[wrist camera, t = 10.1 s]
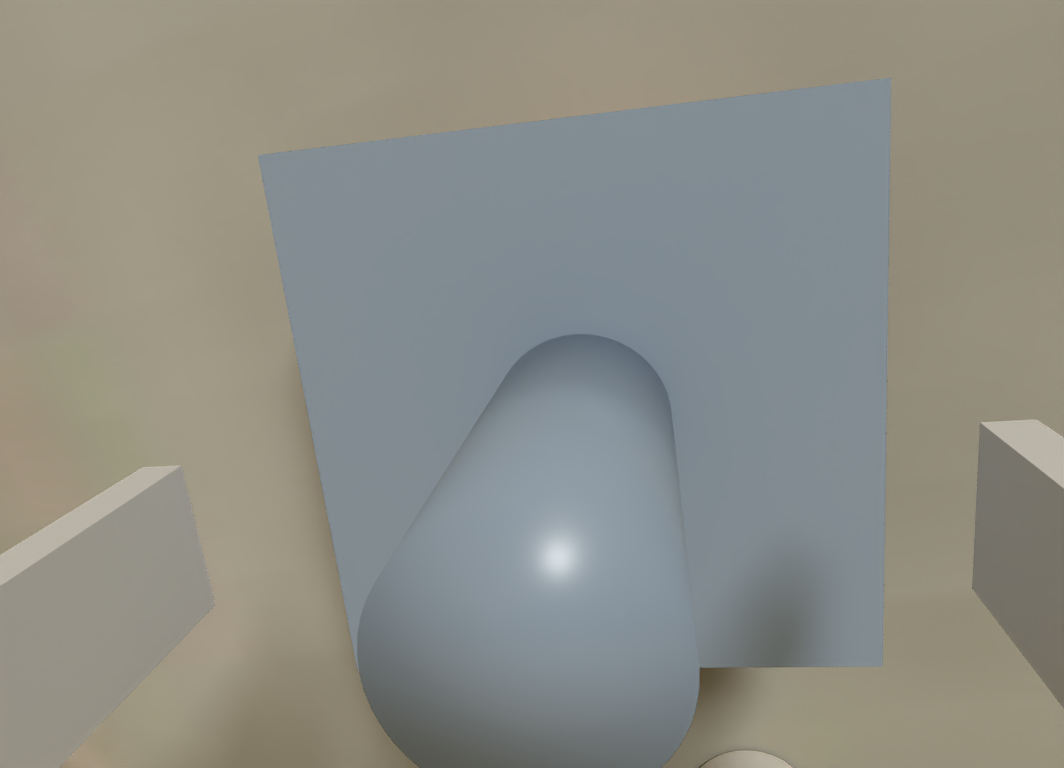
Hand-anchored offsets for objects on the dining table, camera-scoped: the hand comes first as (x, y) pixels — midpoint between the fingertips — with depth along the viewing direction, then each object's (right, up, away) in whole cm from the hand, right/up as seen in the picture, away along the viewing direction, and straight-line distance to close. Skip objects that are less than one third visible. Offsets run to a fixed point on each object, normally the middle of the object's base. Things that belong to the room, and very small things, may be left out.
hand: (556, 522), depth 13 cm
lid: (+1, +2, +6) cm, 6 cm away
